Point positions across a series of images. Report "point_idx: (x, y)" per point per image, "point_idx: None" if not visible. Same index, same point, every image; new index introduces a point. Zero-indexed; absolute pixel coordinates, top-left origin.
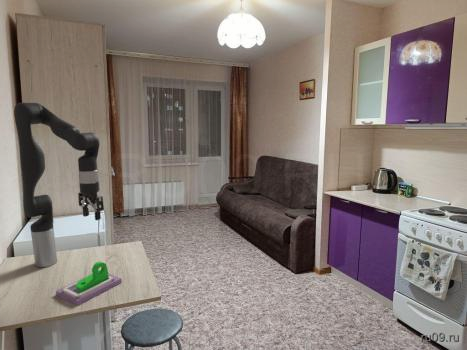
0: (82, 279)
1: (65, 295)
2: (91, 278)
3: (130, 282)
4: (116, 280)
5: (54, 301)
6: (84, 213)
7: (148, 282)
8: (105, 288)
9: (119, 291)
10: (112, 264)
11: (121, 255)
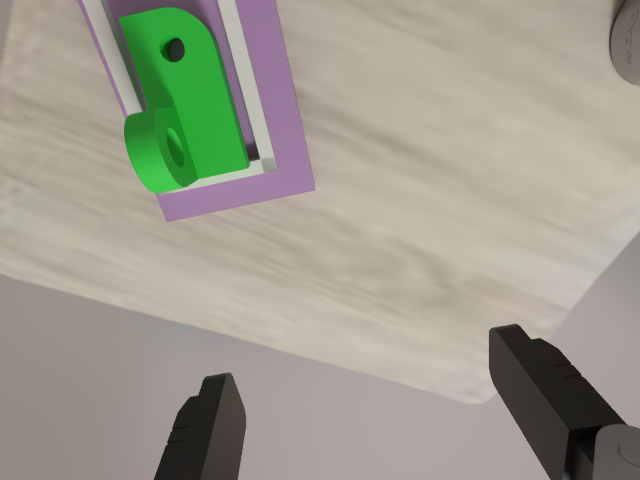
0: (215, 62)
1: None
2: (188, 102)
3: (148, 240)
4: (160, 199)
5: None
6: (513, 363)
7: (102, 287)
8: None
9: (97, 174)
10: (367, 257)
11: (419, 316)
